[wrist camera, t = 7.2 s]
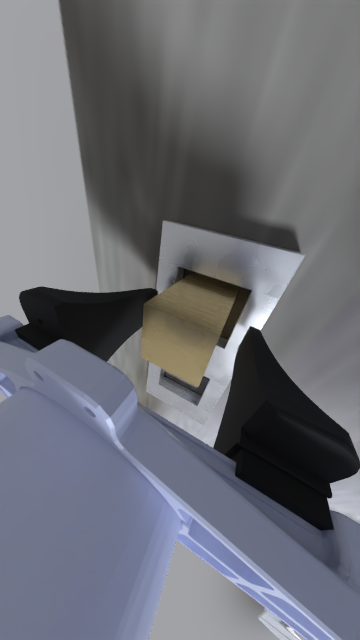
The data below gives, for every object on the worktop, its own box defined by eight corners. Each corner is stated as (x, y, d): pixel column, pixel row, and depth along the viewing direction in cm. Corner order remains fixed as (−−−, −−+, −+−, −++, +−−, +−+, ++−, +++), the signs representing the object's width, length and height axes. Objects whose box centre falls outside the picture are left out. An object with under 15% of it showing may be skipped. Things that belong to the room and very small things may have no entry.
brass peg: (240, 287, 12) (220, 335, 7) (223, 327, 15) (198, 387, 9) (193, 272, 13) (143, 303, 8) (184, 311, 16) (141, 357, 10)
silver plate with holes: (172, 221, 12) (163, 220, 11) (300, 252, 10) (305, 255, 9) (151, 383, 24) (146, 391, 23) (206, 414, 22) (203, 424, 21)
